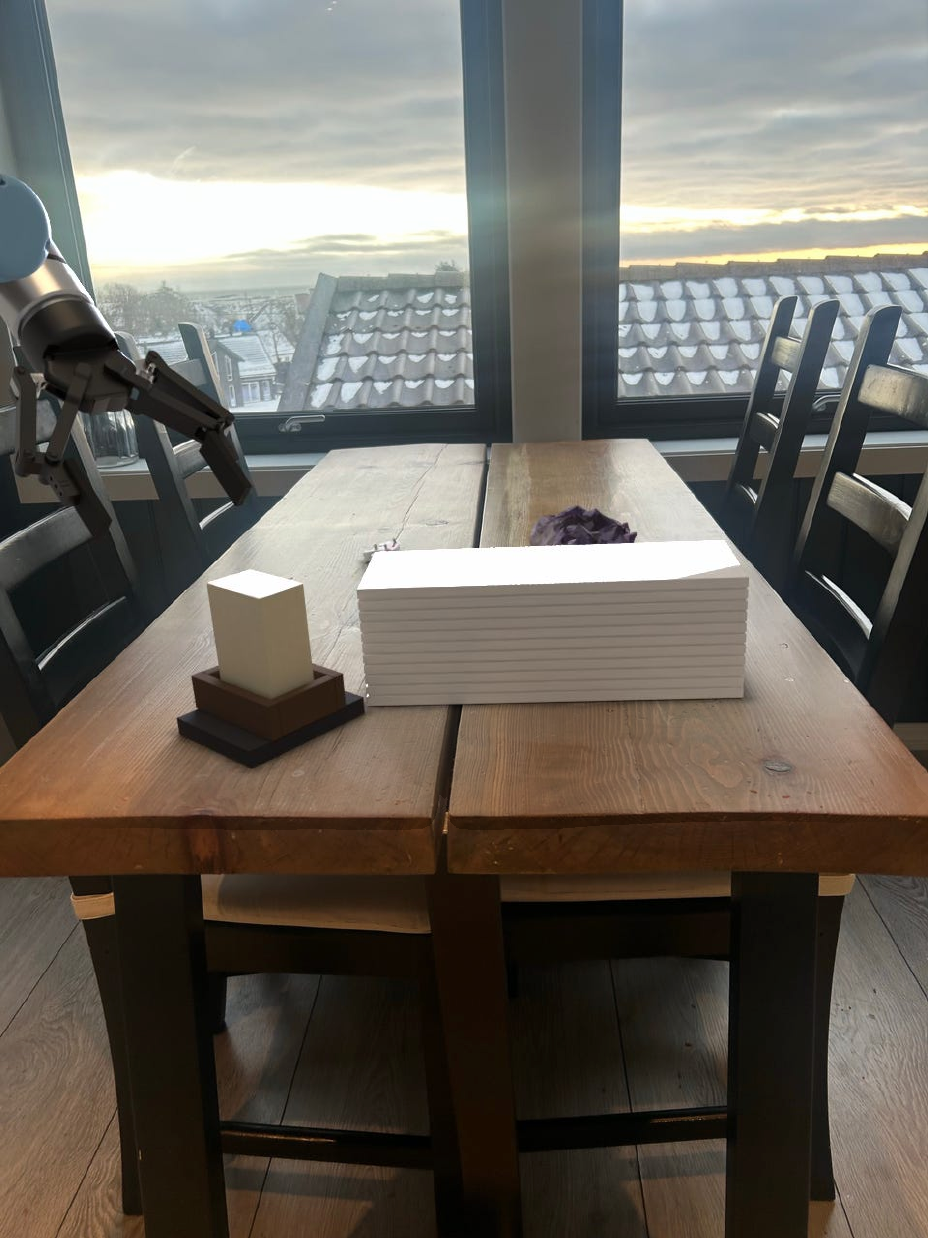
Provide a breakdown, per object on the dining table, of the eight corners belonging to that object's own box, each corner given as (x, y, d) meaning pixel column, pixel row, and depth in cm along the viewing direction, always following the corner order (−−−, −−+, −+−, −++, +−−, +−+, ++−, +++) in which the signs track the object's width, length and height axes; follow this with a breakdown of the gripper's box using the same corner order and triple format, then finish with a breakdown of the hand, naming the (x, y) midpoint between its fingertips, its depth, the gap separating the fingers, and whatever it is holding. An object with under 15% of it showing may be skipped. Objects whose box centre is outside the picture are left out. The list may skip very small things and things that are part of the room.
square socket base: (253, 769, 77) (245, 716, 76) (177, 733, 84) (169, 684, 82) (366, 713, 85) (362, 665, 84) (289, 684, 92) (284, 639, 90)
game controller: (362, 556, 130) (360, 536, 129) (449, 547, 131) (448, 528, 131) (366, 568, 124) (364, 548, 123) (457, 559, 126) (456, 539, 125)
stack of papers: (367, 706, 87) (356, 589, 83) (384, 658, 97) (374, 552, 93) (743, 698, 84) (749, 576, 80) (720, 650, 94) (724, 539, 90)
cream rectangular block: (275, 727, 80) (258, 598, 76) (224, 706, 85) (205, 583, 81) (317, 708, 83) (303, 583, 79) (265, 688, 88) (250, 568, 84)
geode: (678, 618, 103) (669, 527, 99) (570, 644, 102) (556, 553, 98) (618, 556, 121) (608, 477, 117) (526, 577, 120) (513, 498, 116)
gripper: (168, 343, 100) (279, 508, 96) (-94, 372, 83) (26, 575, 78) (191, 286, 95) (309, 458, 90) (-84, 305, 78) (45, 519, 73)
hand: (178, 513), depth 84 cm, fingers open, 13 cm apart
